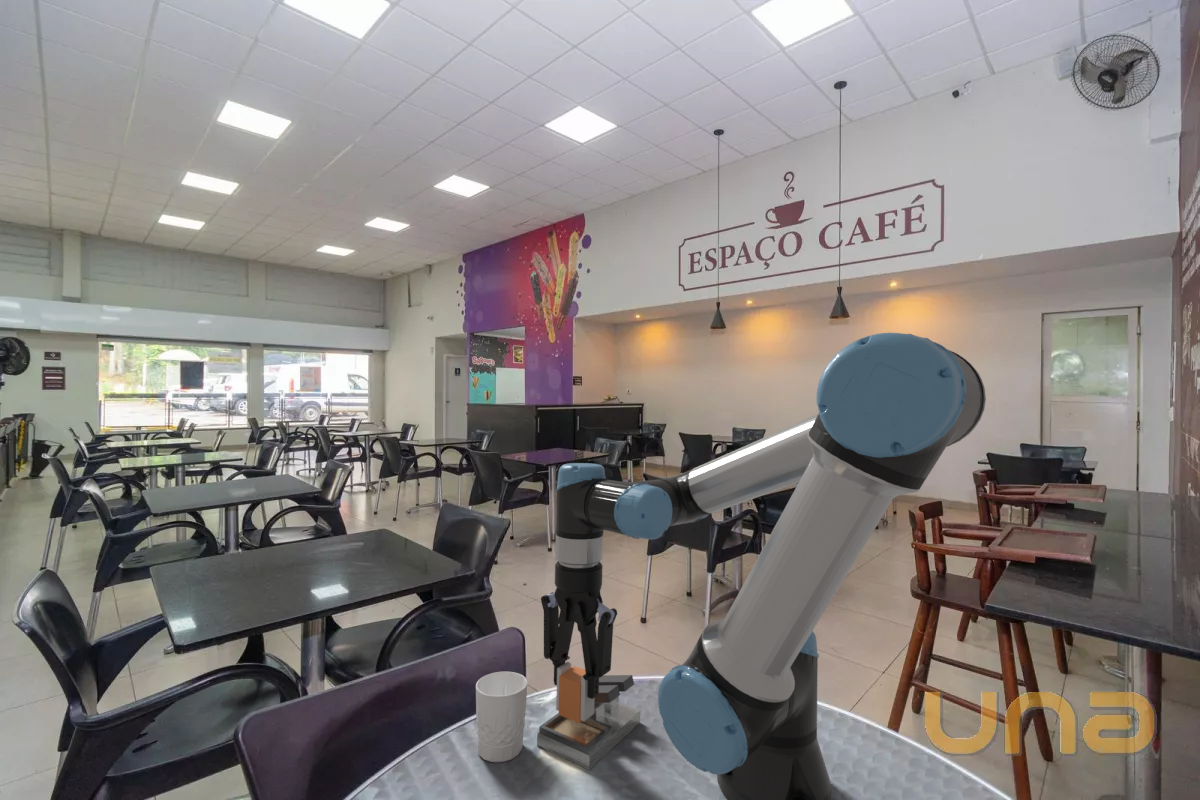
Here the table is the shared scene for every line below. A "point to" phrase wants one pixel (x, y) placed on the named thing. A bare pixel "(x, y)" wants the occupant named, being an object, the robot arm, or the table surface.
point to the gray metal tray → (588, 733)
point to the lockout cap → (570, 694)
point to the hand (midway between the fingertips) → (575, 711)
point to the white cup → (500, 715)
